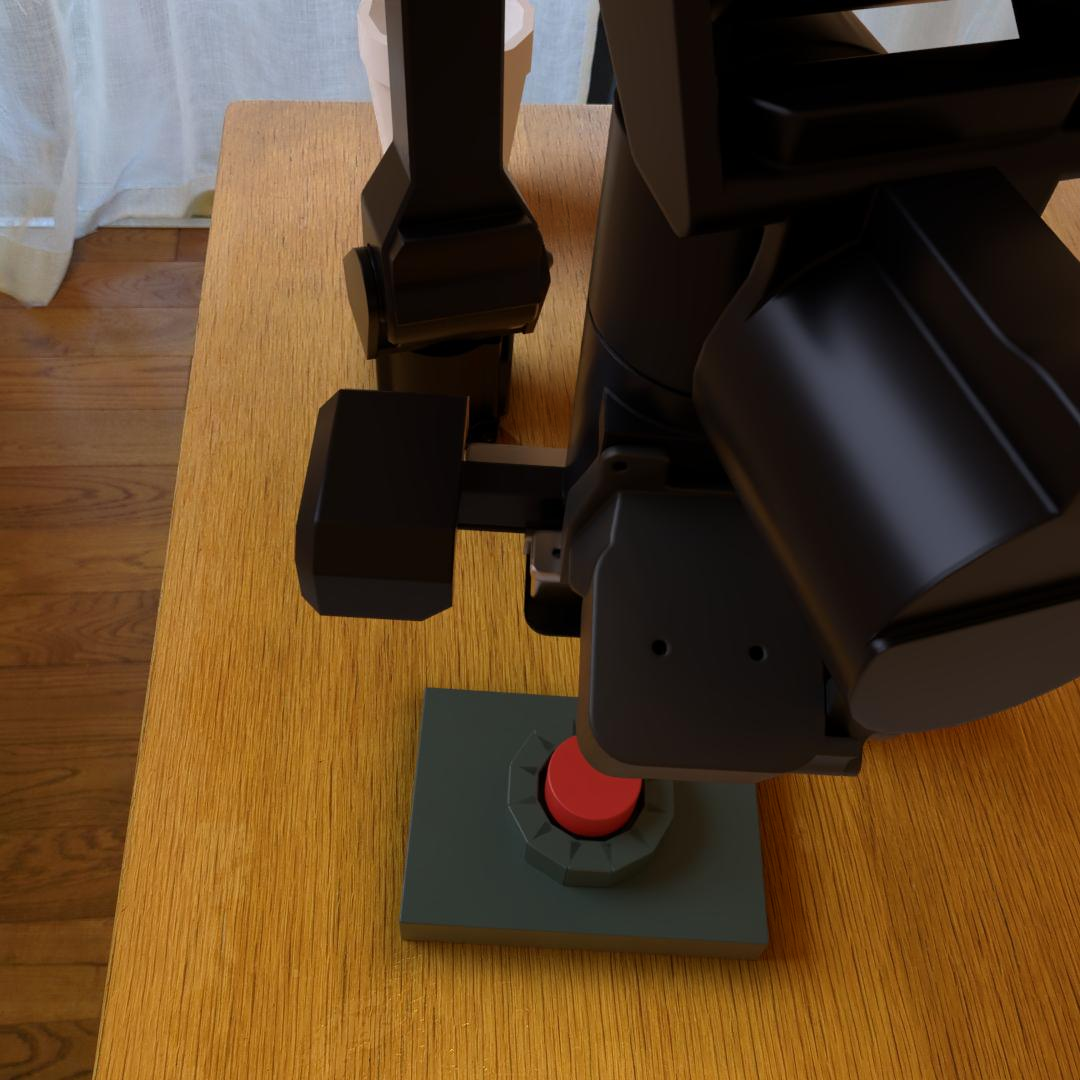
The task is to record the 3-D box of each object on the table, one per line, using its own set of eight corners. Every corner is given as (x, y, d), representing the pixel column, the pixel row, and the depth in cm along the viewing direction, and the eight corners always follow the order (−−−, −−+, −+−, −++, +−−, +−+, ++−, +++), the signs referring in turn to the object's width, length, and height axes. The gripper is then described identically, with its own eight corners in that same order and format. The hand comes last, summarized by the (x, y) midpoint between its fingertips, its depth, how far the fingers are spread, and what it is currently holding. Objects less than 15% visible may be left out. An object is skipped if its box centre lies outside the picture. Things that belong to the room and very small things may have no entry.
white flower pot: (382, 162, 72) (371, -40, 62) (525, 173, 73) (538, -26, 62) (363, 257, 67) (347, 53, 56) (517, 270, 67) (529, 69, 57)
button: (542, 834, 43) (546, 816, 41) (545, 748, 45) (549, 728, 43) (636, 840, 43) (643, 823, 41) (635, 754, 45) (641, 734, 43)
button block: (400, 940, 43) (396, 906, 40) (425, 710, 49) (424, 665, 46) (756, 961, 44) (781, 929, 41) (739, 730, 50) (759, 687, 47)
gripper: (196, 598, 18) (298, 908, 31) (1292, 663, 19) (958, 940, 32) (301, 185, 25) (350, 578, 38) (1112, 244, 26) (895, 610, 38)
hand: (626, 673), depth 36 cm, fingers closed
